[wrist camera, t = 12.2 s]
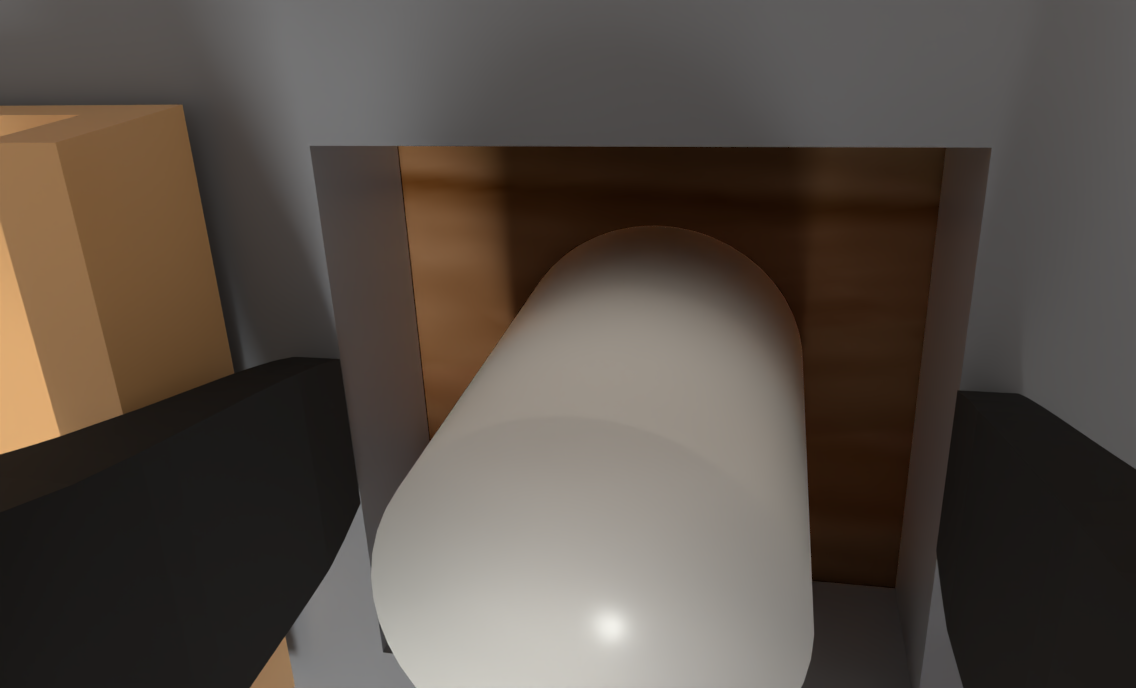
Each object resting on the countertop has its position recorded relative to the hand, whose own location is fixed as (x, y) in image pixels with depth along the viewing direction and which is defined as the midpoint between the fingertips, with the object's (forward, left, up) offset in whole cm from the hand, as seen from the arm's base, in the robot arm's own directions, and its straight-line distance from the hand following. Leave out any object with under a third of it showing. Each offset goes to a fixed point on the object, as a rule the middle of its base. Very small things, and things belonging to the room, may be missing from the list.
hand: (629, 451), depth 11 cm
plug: (0, 0, -3) cm, 3 cm away
